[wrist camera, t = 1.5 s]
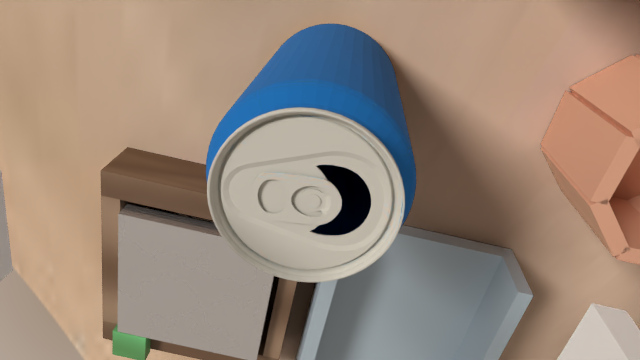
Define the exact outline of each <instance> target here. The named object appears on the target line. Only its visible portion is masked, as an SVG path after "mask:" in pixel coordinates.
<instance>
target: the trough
mask: <svg viewBox="0 0 640 360" xmlns="http://www.w3.org/2000/svg"><path fill="white" fill-rule="evenodd" d="M533 296H534V295H533V293H532V291H531V289H530V287H529V285H528V283H527V281H526V279H525V277H524V274H523V272H522V270H521V268H520V266H519V264H518V262H517V260H516V258H515V255H514V253H513V251H512V249H507V248H503V247H498V246H494V245H489V244H485V243H480V242H476V241H472V240H467V239H463V238H458V237H454V236H449V235H445V234H440V233H436V232H432V231H427V230H423V229H418V228H414V227H409V226H405V225H402V226H401V228H400V230H399V232H398V234H397V236H396V238H395V240H394V241H393V243H392V244H391V246H390V247H389V248H388V250H387V251H386V252H385V253H384V254H383V255H382V256H381V257H380V258H379V259H378V260H377V261H375V262H374V263H373V264H371V265H370V266H368V267H367V268H365V269H363V270H362V271H360V272H358V273H356V274H353V275H351V276H348V277H345V278H342V279H338V280H334V281H327V282H315V286H314V290H313V294H312V297H311V301H310V305H309V309H308V313H307V317H306V320H305V324H304V328H303V332H302V336H301V340H300V343H299V347H298V351H297V355H296V359H295V360H498V359H499V358H500V356H501V354H502V352H503V350H504V348H505V347H506V345H507V343H508V341H509V339H510V338H511V336H512V334H513V332H514V330H515V328H516V327H517V325H518V323H519V321H520V319H521V318H522V316H523V314H524V312H525V310H526V308H527V307H528V305H529V303H530V301H531V299H532V298H533Z"/></svg>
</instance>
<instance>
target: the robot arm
mask: <svg viewBox="0 0 640 360" xmlns="http://www.w3.org/2000/svg"><path fill="white" fill-rule="evenodd" d="M12 270H13V269H12V260H11V252H10V243H9V234H8V226H7V217H6V208H5V199H4V191H3V182H2V173H1V170H0V281H2V280H3V279H4V278H5V277H6V276H7V275H8V274H9V273H10V272H11V271H12ZM557 360H640V330H639V328H638V327H637V325H636V324H635V323H634V321H633V320H632V318H631V317H630V316H629V314H628V313H627V312H626V311H625V310H621V309H616V308H612V307H608V306H603V305H599V304H594V303H592V304H591V306H590V307H589V309H588V310H587V312H586V314H585V315H584V317H583V318H582V320H581V322H580V323H579V325H578V327H577V328H576V330H575V331H574V333H573V335H572V336H571V338H570V339H569V341H568V343H567V344H566V346H565V348H564V349H563V351H562V352H561V354H560V356H559V357H558V359H557Z"/></svg>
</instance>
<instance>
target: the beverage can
mask: <svg viewBox="0 0 640 360" xmlns="http://www.w3.org/2000/svg"><path fill="white" fill-rule="evenodd" d="M206 179H207V199H208V206H209V210H210V214H211V216H212V219H213V221H214V224H215V226H216V228H217V230H218V231H219V233H220V235H221V236H222V238H223V239H224V240H225V242H226V243H227V244H228V245H229V246H230V248H231V249H232V250H233V251H234V252H235V253H236V254H238V255H239V256H240V257H241V258H242V259H243V260H245V261H246V262H248V263H249V264H251V265H252V266H254V267H256V268H258V269H259V270H261V271H263V272H266V273H268V274H271V275H273V276H276V277H279V278H283V279H286V280H292V281H297V282H309V283H311V282H327V281H334V280H338V279H342V278H345V277H348V276H351V275H353V274H356V273H358V272H360V271H362V270H363V269H365V268H367V267H368V266H370V265H371V264H373V263H374V262H375V261H377V260H378V259H379V258H380V257H381V256H382V255H383V254H384V253H385V252H386V251H387V250H388V248H389V247H390V246H391V244H392V243H393V241H394V240H395V238H396V236H397V234H398V232H399V230H400V228H401V226H402V225H403V223H404V222H405V220H406V218H407V216H408V214H409V211H410V209H411V206H412V203H413V199H414V196H415V188H416V168H415V162H414V156H413V152H412V147H411V143H410V138H409V134H408V129H407V125H406V120H405V116H404V111H403V107H402V102H401V98H400V93H399V89H398V85H397V80H396V76H395V72H394V69H393V66H392V63H391V61H390V59H389V57H388V56H387V54H386V53H385V51H384V50H383V49H382V47H381V46H380V45H379V44H378V43H377V42H376V41H375V40H374V39H372V38H371V37H370V36H368V35H367V34H365V33H364V32H362V31H360V30H358V29H355V28H352V27H349V26H346V25H340V24H321V25H316V26H312V27H309V28H306V29H304V30H301V31H300V32H298V33H296V34H294V35H293V36H292V37H290V38H289V39H288V40H287V41H286V42H285V43H284V44H283V45H282V46H281V47H280V48H279V49H278V51H277V52H276V53H275V54H274V56H273V57H272V58H271V59H270V60H269V62H268V63H267V64H266V65H265V67H264V68H263V69H262V70H261V72H260V73H259V74H258V75H257V77H256V78H255V79H254V80H253V81H252V83H251V84H250V85H249V86H248V88H247V89H246V90H245V91H244V93H243V94H242V95H241V96H240V97H239V99H238V100H237V101H236V102H235V104H234V105H233V106H232V107H231V109H230V110H229V111H228V112H227V114H226V115H225V116H224V118H223V119H222V120H221V122H220V123H219V125H218V127H217V128H216V130H215V132H214V134H213V137H212V139H211V142H210V145H209V149H208V154H207V160H206Z"/></svg>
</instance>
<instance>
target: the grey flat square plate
mask: <svg viewBox="0 0 640 360" xmlns="http://www.w3.org/2000/svg"><path fill="white" fill-rule="evenodd" d="M273 281H274V276H273V275H271V274H268V273H266V272H263V271H261V270H259V269H258V268H256V267H254V266H252V265H251V264H249V263H248V262H246V261H245V260H243V259H242V258H241V257H240V256H239V255H238V254H236V253H235V252H234V251H233V250H232V249H231V248H230V246H229V245H228V244H227V243H226V242H225V240H224V239H223V238H222V236H221V235H220V233H219V231H218V230H217V228H216V226H215V224H214V223H210V222H206V221H201V220H197V219H192V218H188V217H183V216H179V215H174V214H170V213H165V212H161V211H156V210H152V209H147V208H143V207H139V206H134V205H130V204H127V205H126V206H125V207H124V208H123V209H122V210H121V211H120V212H119V214H118V332H122V333H127V334H131V335H136V336H140V337H145V338H149V339H154V340H159V341H163V342H168V343H172V344H177V345H181V346H186V347H191V348H195V349H200V350H204V351H209V352H213V353H218V354H223V355H227V356H232V357H236V358H241V359H245V360H257V356H258V353H259V349H260V344H261V339H262V334H263V329H264V324H265V320H266V315H267V310H268V305H269V300H270V295H271V290H272V286H273Z"/></svg>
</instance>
